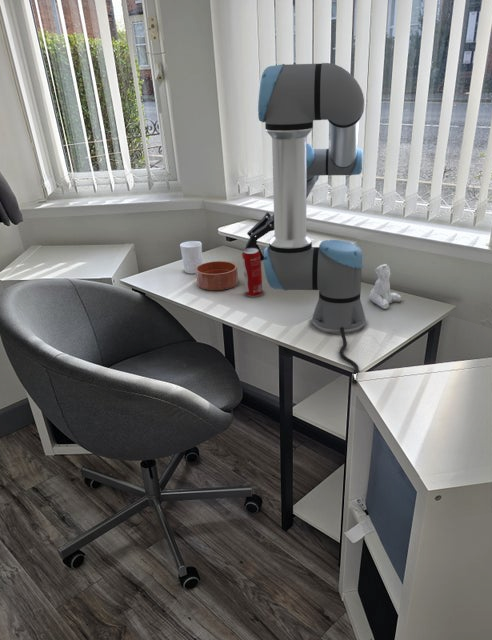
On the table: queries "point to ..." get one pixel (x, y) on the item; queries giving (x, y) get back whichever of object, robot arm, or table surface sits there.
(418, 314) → the table surface
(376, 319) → the table surface
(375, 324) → the table surface
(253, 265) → the beverage can
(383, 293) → the sitting furry creature
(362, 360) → the table surface
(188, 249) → the white cup
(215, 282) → the bowl
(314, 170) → the robot arm
